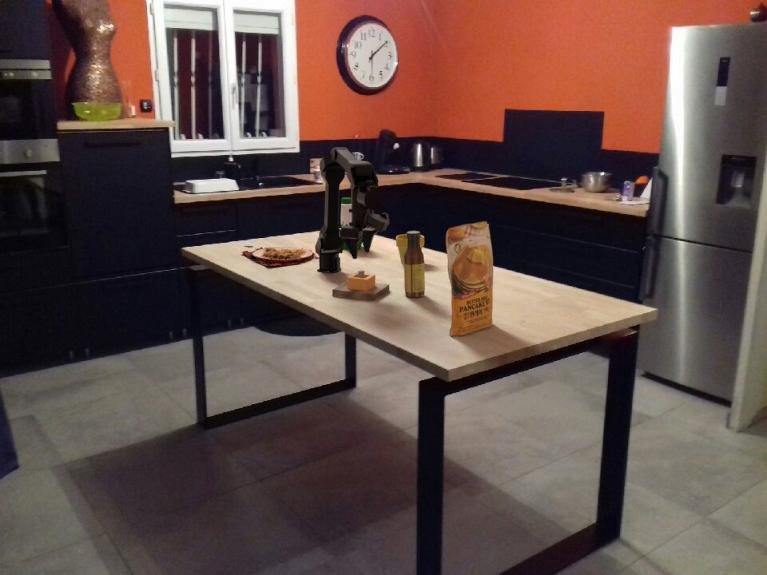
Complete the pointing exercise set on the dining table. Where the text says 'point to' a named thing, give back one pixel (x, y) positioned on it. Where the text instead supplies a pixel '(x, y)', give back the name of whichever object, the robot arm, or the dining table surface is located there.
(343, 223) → the milk carton
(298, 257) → the plate with food
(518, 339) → the dining table surface
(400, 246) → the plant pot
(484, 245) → the pancake mix bag
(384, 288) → the brown peg board
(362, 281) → the orange square ring
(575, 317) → the dining table surface
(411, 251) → the sauce bottle
